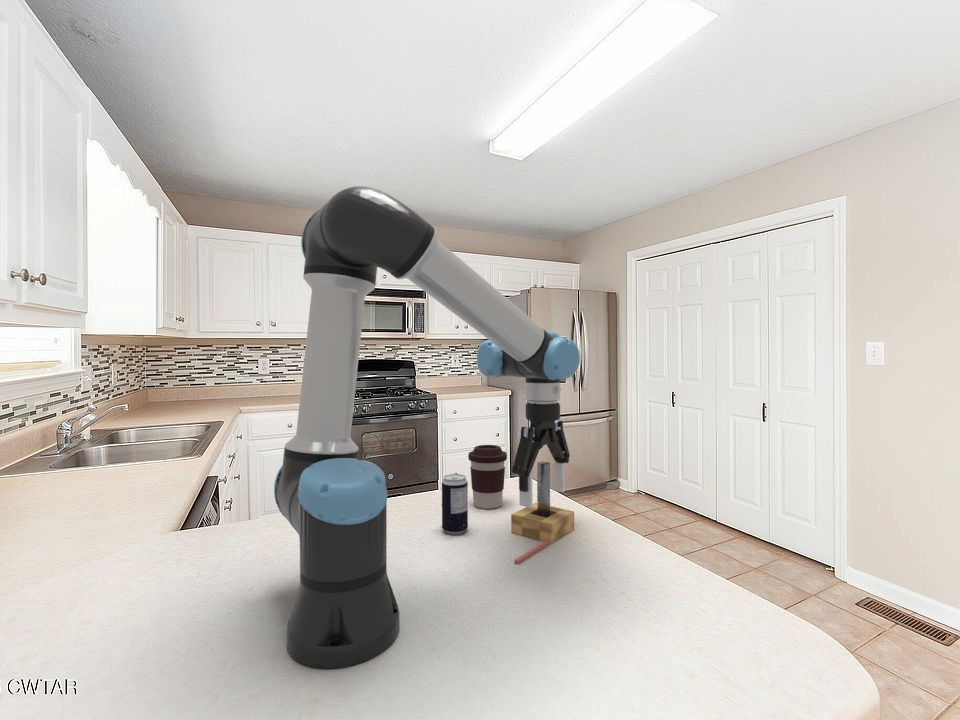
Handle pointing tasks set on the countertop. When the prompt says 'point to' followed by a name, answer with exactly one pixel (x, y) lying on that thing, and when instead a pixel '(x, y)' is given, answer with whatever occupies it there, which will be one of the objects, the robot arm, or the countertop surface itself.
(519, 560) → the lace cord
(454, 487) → the beverage can
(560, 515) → the wooden square frame
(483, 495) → the coffee cup
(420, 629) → the countertop surface
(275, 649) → the countertop surface
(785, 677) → the countertop surface
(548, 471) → the grey capsule rod
